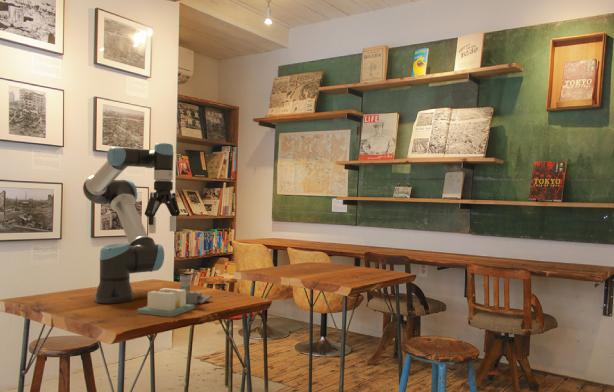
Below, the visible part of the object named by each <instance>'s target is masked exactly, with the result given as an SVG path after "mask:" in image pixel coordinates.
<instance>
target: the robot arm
mask: <svg viewBox="0 0 614 392" xmlns="http://www.w3.org/2000/svg"><path fill="white" fill-rule="evenodd" d="M174 153H175V152H174V146H173V144H171V143H167V142H166V143H165V142H163V143H162V142H160V143H159V142H158V143H154V147H153V149H143V148H132V147H131V148H130V147H122V146H117V147H116V146H113V147H109V149H108V152H107V154H106V155H107V156H106V159H107V160H106V161H105V163H104V164H103V165H102V166H100V167H99V169H98V170H97V171H96V172H95V173H94V174H93V175H91V176H89V177H87V179H86V180H85V181H84V183H83V186H82V192H83V195H84V196H85V197H86V199H88V201H91V203H94V204H98V205H109V206H110V208H111V209H112V211H114V212H116V215H117V217H118V219H119V222H120V224H121V227H122V230H123V232H124V234H125V236H126V239H127V241H128V242H120V243H113V244H107V245H104V246H103V247H102V248H101V249H100V253H99V283H98V287H97V289H96V293H95V295H94V301H95V303H97V304H121V303H128V302H131V301H134V298H135V297H134V296H135V295H134V292H133V287H132V285H131V282H130V281H131V280H130V277H131V276H130V275H131V274H139V273H148V272H151V273H152V272H157V271H159V270H161V268H162V266H163V264H164V262H165V261H164V260H165V249H164V246H163V245H162V244H159V243H157V244H156V242H155V240H154V239H153V237H150V236H148V234H156V233H157V229H156V227H157V226H156V224H157V223H156V222H157V217H156V215H157V212H158V210H159V208H160V207H161V205H162V204H164V205H166V208H167V210H168V212H169V214H170V215H169V232H177V217H178V216H180V214H181V213H180V212H181V211H180V208H179V205H178V201H177V195H176V192H172V191H173V189H174V187H173V185H174V182H173V180H174V179H173V177H174V174H173V172H174ZM128 167H136V168H137V167H138V168H146V169H153V180H155V181H154V182H153V190H154V191H153V192H152V191H151V192H150V193H149V199H148V202H147V205H146V207H145V211H144V215H145V217H147V218H148V233H147V231H146V229H145V227H144V224H143V221H142V219H141V217H140V215H139V213H138V211H137V207H136V206H135V204H136V202H137V199H138V192H137V191H138V190H137V185H136V184H135V183H134V182H132V181H131V180H125V179H117V178H118V176H120V174H122V173H123V171H124V170H126V168H128Z"/></svg>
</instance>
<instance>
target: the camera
mask: <svg viewBox="0 0 614 392" xmlns="http://www.w3.org/2000/svg"><path fill="white" fill-rule="evenodd" d="M191 282H192V275H180V276H179V283H180V286H179V287H180V288H179V289H182V290H186V304H193V305H195V306H196V305H197V304H202V305H203V303H205V302H207V301H209V300H210V299H212V298H213V295H212V294H211V295H208V294H204V293H202V292H200V291H199V292H198V291H197V292H196V291H192V290H191Z"/></svg>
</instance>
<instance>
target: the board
mask: <svg viewBox="0 0 614 392" xmlns="http://www.w3.org/2000/svg"><path fill="white" fill-rule="evenodd" d="M165 293H170V292H165ZM195 309H196V304H195V305H193V304H186V306H183V307H178V298H175V309H173V310H170V311H168V310H159V309H150V308H147V305H146V306H143V307H139V308H137V314H141V315H142V314H143V315H153V316H160V317H168V318H169V317H170V318H172V317H175V316H178V315H180V314H183V313H186V312H189V311H192V310H195Z"/></svg>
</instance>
